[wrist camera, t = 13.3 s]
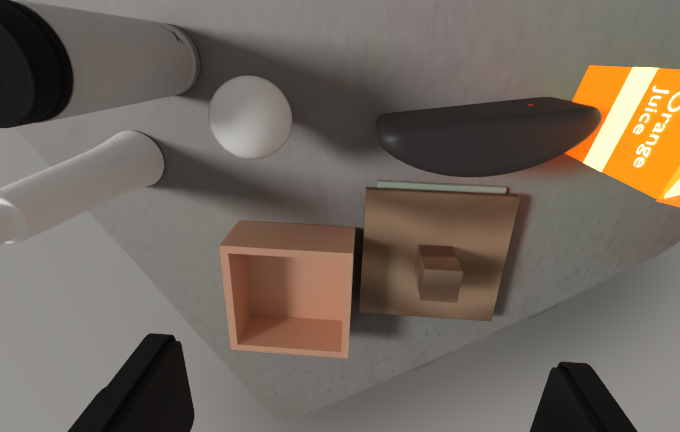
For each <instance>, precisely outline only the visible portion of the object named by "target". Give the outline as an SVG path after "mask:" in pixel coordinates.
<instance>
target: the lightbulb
mask: <svg viewBox="0 0 680 432" xmlns="http://www.w3.org/2000/svg"><path fill="white" fill-rule="evenodd" d="M208 118H209V125H210V128H211V131H212V133H213V135H214V137H215V139H216V140H217V142H218V143H219V144H220V145H221V146H222V147H223V148H224V149H225V150H226V151H228V152H229V153H231V154H232V155H234V156H237V157H240V158H243V159H250V160H255V159H262V158H266V157H268V156H270V155H272V154H274V153H275V152H277V151H278V150H279V149H280V148H281V147H282V146H283V145H284V144H285V142H286V141H287V139H288V137H289V135H290V132H291V127H292V112H291V108H290V105H289V103H288V100H287V98H286V97H285V95H284V94H283V92H282V91H281V90H280V89H279V88H278V87H277V86H276V85H274V84H273V83H272V82H270V81H268V80H266V79H264V78H261V77H258V76H252V75H244V76H238V77H235V78H232V79H230V80H228V81H226V82H225V83H224V84H222V85H221V86H220V87H219V88H218V89H217V91H216V92H215V93H214V95H213V97H212V99H211V102H210V105H209V111H208Z"/></svg>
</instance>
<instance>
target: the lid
mask: <svg viewBox="0 0 680 432" xmlns="http://www.w3.org/2000/svg"><path fill="white" fill-rule="evenodd" d="M519 201H520V197H519V196H518V195H516V194H496V193H475V192H455V191H435V190H414V189H394V188H373V187H366V201H365V218H364V235H363V252H362V269H361V286H360V303H359V312H360V313H375V314H390V315H405V316H420V317H435V318H450V319H465V320H480V321H491V320H492V316H493V312H494V307H495V303H496V299H497V295H498V290H499V286H500V282H501V278H502V273H503V269H504V265H505V261H506V256H507V252H508V248H509V244H510V239H511V235H512V231H513V227H514V222H515V218H516V214H517V210H518V205H519Z"/></svg>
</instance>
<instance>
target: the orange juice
mask: <svg viewBox="0 0 680 432" xmlns="http://www.w3.org/2000/svg"><path fill="white" fill-rule="evenodd" d="M572 102H575V103H580V104H584V105H589V106H593V107H596V108H597V109H598V110H599V111H600V112H601V115H602V120H601V123H600V125H599V126H598V128H597V129H596V130H595V131H594V133H593V134H592V135H591V136H589V137H588V138H587V139H586V140H585V141H583V142H582V143H580V144H579V145H577V146H576V147H574V148H572V149H571V150H569V151H567V152H565V154H567V155H569V156H571V157H573V158H575V159H577V160H579V161H581V162H583V163H584V164H586V165H588V166H590V167H592V168H594V169H596V170H598V171H600V172H603V173H605V174H607V175H609V176H612V177H614V178H616V179H618V180H620V181H622V182H624V183H626V184H628V185H630V186H632V187H634V188H636V189H638V190H640V191H642V192H644V193H646V194H648V195H650V196H652V197H654V198H656V199H658V200H657V202H661V203H665V204H669V205H673V206H677V207H680V70H678V69H660V68H649V67H611V66H589V67H588V70H587V72H586V74H585V76H584V78H583V80H582V82H581V84H580V86H579V88H578V91H577V93H576V95H575V97H574V99H573V101H572Z"/></svg>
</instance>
